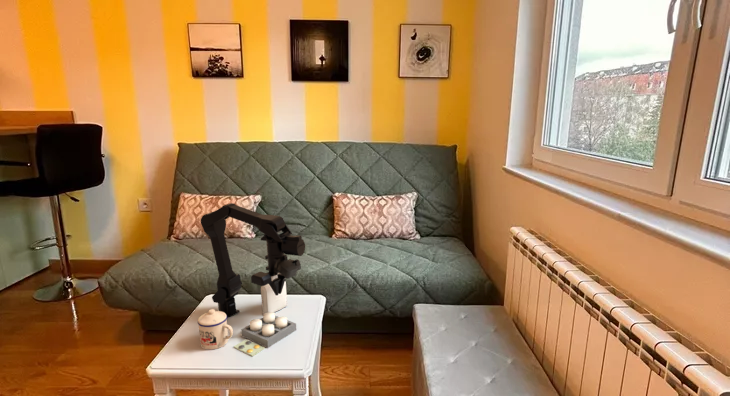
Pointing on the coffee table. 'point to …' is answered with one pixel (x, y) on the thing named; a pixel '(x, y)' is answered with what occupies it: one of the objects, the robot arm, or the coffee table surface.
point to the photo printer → (273, 299)
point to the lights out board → (262, 338)
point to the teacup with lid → (214, 329)
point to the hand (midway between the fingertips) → (278, 294)
